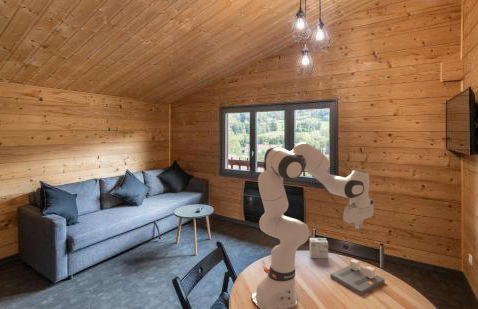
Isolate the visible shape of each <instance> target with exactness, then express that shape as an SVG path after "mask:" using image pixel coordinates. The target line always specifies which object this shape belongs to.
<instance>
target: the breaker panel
mask: <svg viewBox="0 0 478 309" xmlns="http://www.w3.org/2000/svg"><path fill="white" fill-rule="evenodd" d="M329 276H330V278H331V279H333V280H334V281H336V282H338V283H339V284H341V285H343V286H345V287H346V288H348V289H350V290H351V291H353V292H355V293H356V294H358V295H359V296H362V295H364V294H366V293H368V292H369V291H372V290H373V289H376V288H377V287H379V286H381V285H382V283H383V284H385V283H384V282H386V280H385V278H384V277H382V276H380V275H378V274H376V273H375V277H374V278H372V279H371V278H369V277H367V276H365V268H363V267H361V266H359V270H357V271H355V270H353V269H351V268H350V265H348V266H346V267H343V268H340V269H338V270H336V271H334V272H331V273H330V275H329ZM380 284H381V285H380Z"/></svg>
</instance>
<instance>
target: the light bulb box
mask: <svg viewBox="0 0 478 309" xmlns="http://www.w3.org/2000/svg"><path fill="white" fill-rule="evenodd" d="M308 239H309V249H308V251H309V252H308V253H309V256H310V258H311V259H329V241H328V239H327V238H326V237H308Z"/></svg>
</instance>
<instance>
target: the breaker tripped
mask: <svg viewBox="0 0 478 309" xmlns="http://www.w3.org/2000/svg"><path fill="white" fill-rule="evenodd" d="M364 269H365V276H367V277H369V278H371V279H372V278H374V277H375V274H376V268H374V267H371V266H370V265H368V266H366V267H365V268H364Z"/></svg>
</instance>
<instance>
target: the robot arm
mask: <svg viewBox="0 0 478 309" xmlns="http://www.w3.org/2000/svg"><path fill="white" fill-rule="evenodd" d="M263 160H264V162H263V168H264V169H265V170H263V171H262V172H261V173H260V174H259V175H258V178H257V184H258V190H259V194H260V198H261V201H262V205H263V209H264V213H263V214H262V215H261V217H260V218H259V221H258V224H259V229H260V230H261V231H262V232H263V233H264V234H266V235H268V236H269V237H273V238H276V239H279V244H278V245H277V244H276V245H275V246H273V248H272V249H271V252H270V259H271V261H270V265H269V268H268V267H265V268H264V269H263V271H264V273H266V275H265V277H264V278H263V279H262V280H261V281H260V282H259V283H258V284H257V287H256V291H255V292H254V293H252V294H251V297H252V298H251V300H253V301H254V303H255V304H256V305H257V306H258V307H259V308H260V309H291V308H294V307H297V306H298V301H297V300H298V297H299V296H298V293H297V288H296V279H295V277H296V266H295V263H296V262H295V261H296V254H297V253H296V252H297V250H298V248H299V247H300V246H302V245H304V244H305V243H306V242H307V241H308V239H309V238H310V237H309V236H310V229H309V227H308V225H307V224H306V223H304V222H303V221H301V220H299V219H296V218H293V217H290V216H286V215H285V213H286V212H287V211H288V208H289V200H288V197H287V193H286V189H285V186H284V179H285V180H287V181H294V180H296V179H298V178H299V177H301V175H302V174H303V172H304V171H305V172H306V173H307V174H309V175H311V177H313V178H314V179H315V180H316V181H318V182H319V183H320V184H321V185H322V188H323V189H324V191H325V192H326V193H327V194H330V195H336V196H339V197H343V198H346V199H349V203H348V204H346V206H345V207H344V210H343V217H342V218H343V222H344V223H347V224H352V223H354V228H355V229H362V225H363V222H364V220H365V219H369V218H372V217H373V216H374V212H375V211H374V210H375V205H374V204H375V199H371V198H370V194H369V190H370V176H369V173H368V172H367V171H365V170H359V169H358V170H356V169H353V170H351V173H350V174H349V175H348V176H346V177H344V176H339V175H337V174H332V173H331V174H330V173H329V172H328V171H329V169H330V159H329V158H328V157H327V156H326V155H325V154H324V153H323V152H321V151H320V150H319V149H317V148H316V147H314V146H312V145H311V144H309V143H306V142H300V143H297V144H296V145H294V147H293V148H292V150H287V149H286V148H283V147H282V146H270V147H269V148H268V149H267V150H266V152H265V154H264V159H263ZM254 298H255V299H254ZM253 301H252V302H253ZM254 303H253V304H254ZM255 304H254V305H255ZM256 305H255V306H256ZM257 306H256V307H257ZM258 307H257V308H258ZM259 308H258V309H259Z"/></svg>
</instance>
